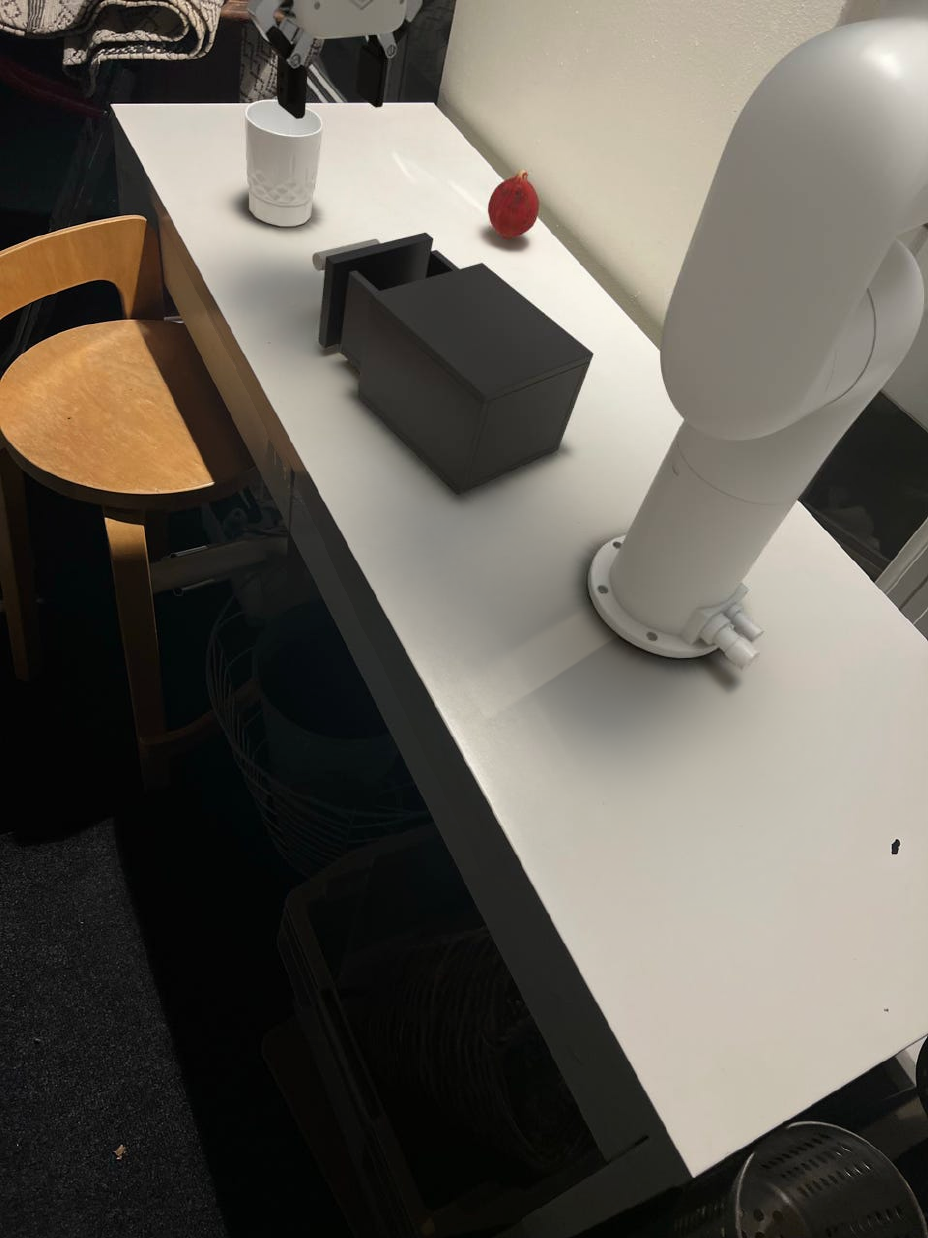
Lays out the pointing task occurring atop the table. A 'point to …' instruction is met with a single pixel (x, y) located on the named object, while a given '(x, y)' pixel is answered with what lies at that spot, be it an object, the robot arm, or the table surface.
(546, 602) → the table surface
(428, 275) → the drawer
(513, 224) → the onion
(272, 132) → the white cup
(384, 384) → the dark grey box
